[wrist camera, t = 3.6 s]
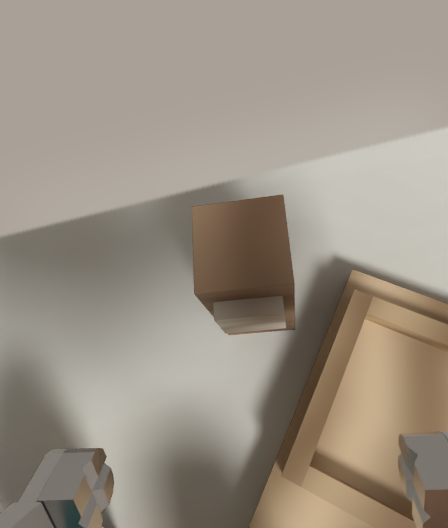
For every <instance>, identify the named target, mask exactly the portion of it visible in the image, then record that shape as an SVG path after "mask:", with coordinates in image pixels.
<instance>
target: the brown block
mask: <svg viewBox="0 0 448 528" xmlns="http://www.w3.org/2000/svg"><path fill="white" fill-rule="evenodd" d="M192 229H193V265H194V294H195V295H196V296H197V298H198V299H199V300H200V301H201V302H202V304H203V305H204V306H205V307H206V308H207V310H208V311H209V312H210V313H211V314H212V315H213V317H214V320H215V322H216V323H217V324H218V325H219V326H220V327H221V329H222V330H223V331H224V332H225V333H228V335H236V334H248V333H259V332H271V331H282V330H294V329H295V302H294V277H293V269H292V261H291V253H290V245H289V237H288V229H287V221H286V213H285V205H284V197H283V195H276V196H269V197H261V198H254V199H246V200H239V201H231V202H224V203H216V204H209V205H201V206H194V207H192Z"/></svg>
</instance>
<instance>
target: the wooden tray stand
mask: <svg viewBox="0 0 448 528" xmlns="http://www.w3.org/2000/svg"><path fill="white" fill-rule="evenodd" d="M435 431H439V432H441V431H448V304H446V303H444V302H441V301H438V300H435V299H433V298H430V297H427V296H424V295H422V294H419V293H416V292H413V291H411V290H408V289H405V288H402V287H400V286H397V285H394V284H391V283H389V282H386V281H383V280H380V279H378V278H375V277H372V276H370V275H367V274H364V273H361V272H359V271H356V270H353V269H352V271H351V274H350V276H349V279H348V281H347V284H346V286H345V289H344V291H343V294H342V296H341V299H340V301H339V304H338V306H337V309H336V311H335V314H334V316H333V319H332V321H331V324H330V326H329V329H328V331H327V334H326V336H325V339H324V341H323V344H322V346H321V349H320V351H319V354H318V356H317V359H316V361H315V364H314V366H313V369H312V371H311V374H310V376H309V379H308V381H307V384H306V386H305V389H304V391H303V394H302V396H301V399H300V401H299V404H298V406H297V409H296V411H295V414H294V416H293V419H292V421H291V424H290V426H289V429H288V431H287V434H286V436H285V439H284V441H283V444H282V446H281V449H280V451H279V454H278V456H277V459H276V461H275V464H274V466H273V469H272V471H271V473H270V476H269V478H268V481H267V483H266V486H265V488H264V491H263V493H262V496H261V498H260V501H259V503H258V506H257V508H256V511H255V513H254V516H253V518H252V521H251V523H250V526H249V528H417V527H416V524H415V522H414V519H413V516H412V502H411V501H410V500H409V499H408V498H407V497H406V496H405V493H404V490H403V487H402V484H401V480H400V475H399V469H398V456H399V455H400V454H401V450H400V447H399V445H398V441H399V435H400V434H401V433H418V432H435Z"/></svg>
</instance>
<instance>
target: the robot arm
mask: <svg viewBox="0 0 448 528" xmlns="http://www.w3.org/2000/svg"><path fill="white" fill-rule="evenodd" d="M398 445H399V447H400V450H401V454H400V455H399V456H398V469H399V475H400V480H401V484H402V487H403V490H404V493H405V496H406V497H407V498H408V499H409V500H410V501H411V502H412V516H413V519H414V522H415V524H416V527H417V528H448V431H441V432H439V431H435V432H418V433H401V434H400V435H399V441H398ZM105 459H106V455H105V452H104V450H103V449H101V448H80V449H52V450H50V451H49V452H48V453H47V454H46V455H45V457H44V459H43V460H42V462H41V464H40V465H39V467H38V469H37V471H36V472H35V474H34V476H33V477H32V479H31V481H30V482H29V484H28V486H27V488H26V489H25V491H24V493H23V494H22V496H21V498H20V499H19V501H18V502H13V503H12V504H10V505H9V506H8V507H7V508H6V509H4V510H3V511H2V512H1V513H0V528H101V525H102V522H103V518H102V515H101V512H102V511H103V510H104V509H105V508H106V507H107V506H108V505H109V503H110V500H111V497H112V494H113V486H114V478H113V473H112V470H111V468H110V467H109V466H107V465H106V464H105V463H104V462H105Z"/></svg>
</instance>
